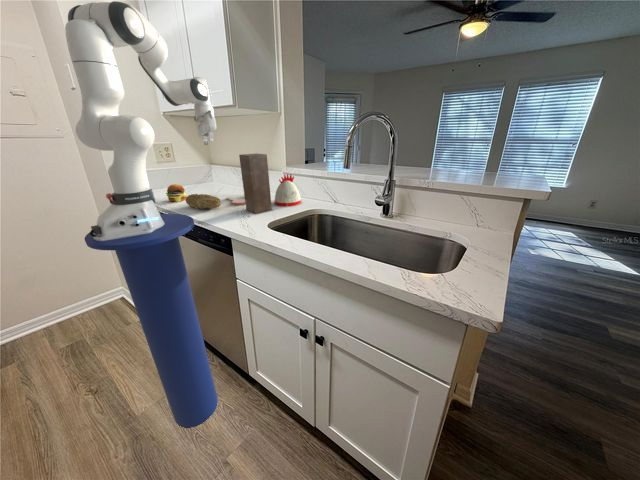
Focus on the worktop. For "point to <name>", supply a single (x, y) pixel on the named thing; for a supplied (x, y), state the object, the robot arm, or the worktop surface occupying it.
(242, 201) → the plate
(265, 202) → the tall brown brick
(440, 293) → the worktop surface
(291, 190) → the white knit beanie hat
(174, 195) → the cheeseburger
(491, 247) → the worktop surface
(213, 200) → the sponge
